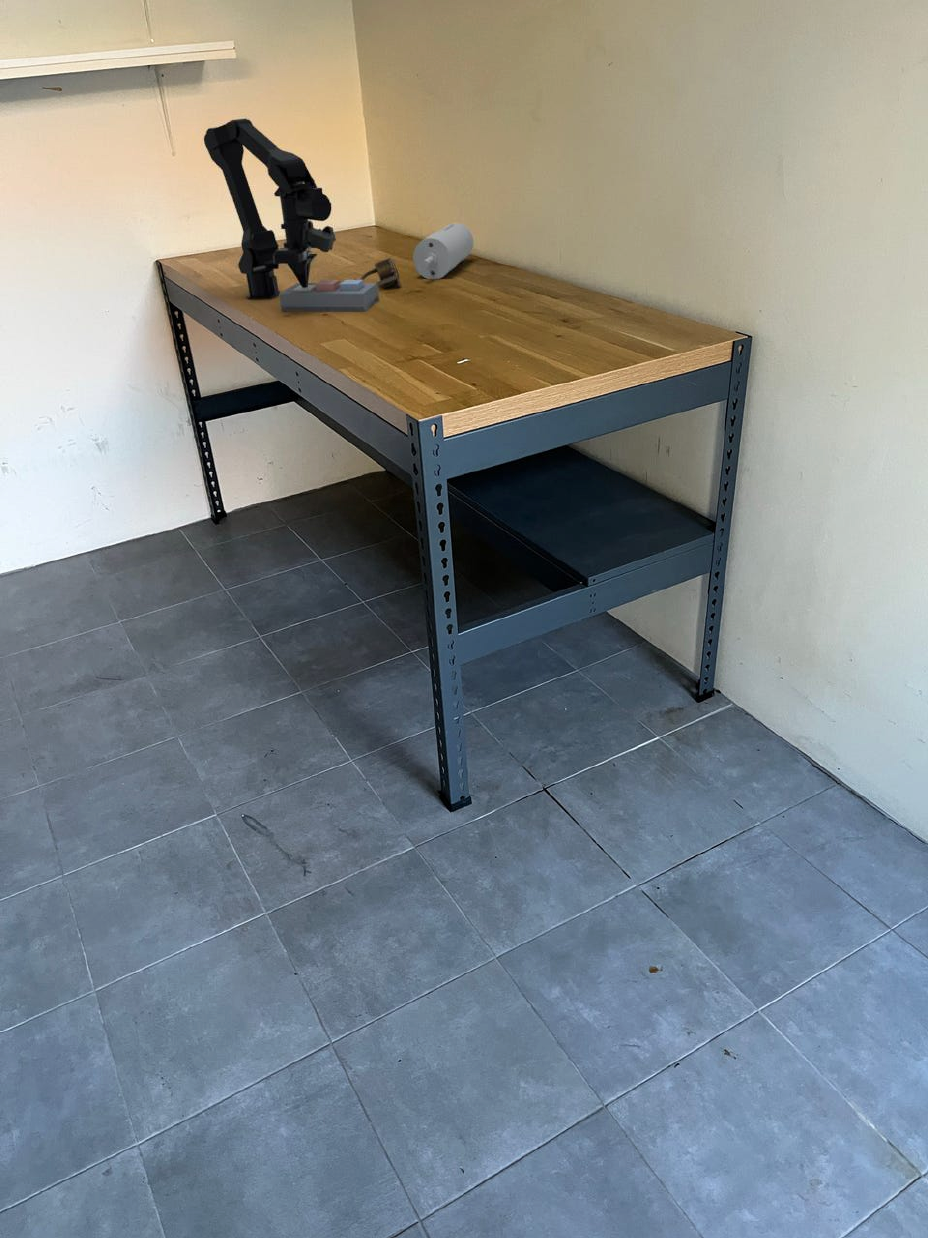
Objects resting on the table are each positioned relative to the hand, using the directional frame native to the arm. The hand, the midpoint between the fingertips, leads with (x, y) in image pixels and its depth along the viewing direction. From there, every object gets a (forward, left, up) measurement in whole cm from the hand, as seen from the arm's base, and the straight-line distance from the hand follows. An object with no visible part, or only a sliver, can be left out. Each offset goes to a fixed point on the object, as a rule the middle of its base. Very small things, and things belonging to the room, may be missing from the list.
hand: (305, 287), depth 225 cm
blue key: (+12, 0, -2) cm, 12 cm away
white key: (0, 0, -3) cm, 3 cm away
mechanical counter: (+12, +19, -5) cm, 23 cm away
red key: (+6, 0, -2) cm, 6 cm away
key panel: (+6, 0, -4) cm, 7 cm away
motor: (+25, +39, -5) cm, 47 cm away
